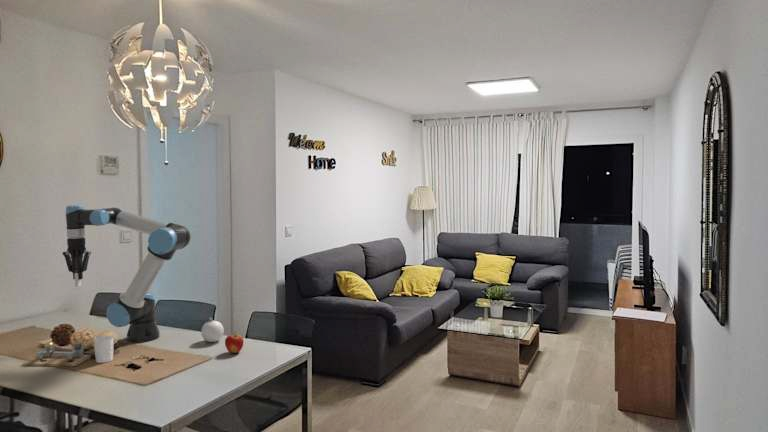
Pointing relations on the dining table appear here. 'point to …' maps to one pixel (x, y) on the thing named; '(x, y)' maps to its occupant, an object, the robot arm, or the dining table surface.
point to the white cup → (104, 348)
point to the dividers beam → (68, 353)
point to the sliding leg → (47, 350)
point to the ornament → (212, 331)
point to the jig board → (55, 361)
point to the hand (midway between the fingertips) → (78, 286)
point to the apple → (234, 343)
